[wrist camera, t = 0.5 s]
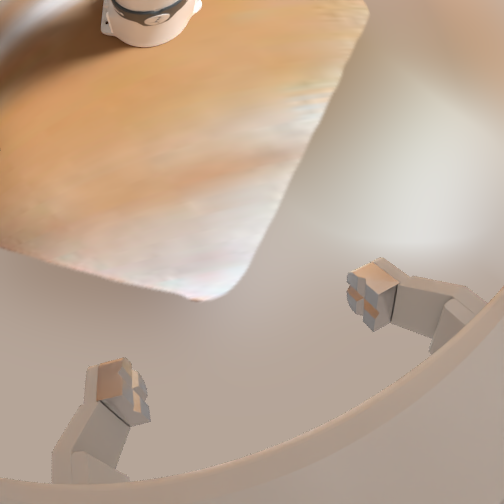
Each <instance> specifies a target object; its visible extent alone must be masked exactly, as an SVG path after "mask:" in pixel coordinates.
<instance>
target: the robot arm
mask: <svg viewBox="0 0 504 504" xmlns="http://www.w3.org/2000/svg"><path fill="white" fill-rule="evenodd" d="M201 8H202V2H201V0H104V3H103V11H102V21H101V32H102V33H103V34H105V35H110V36H115V37H117V38H119V39H120V40H122V41H123V42H125V43H127V44H129V45H132V46H136V47H152V46H157V45H160V44H163V43H166V42H168V41H170V40H171V39H173V38H175V37H176V36H177V35H178V34H180V33H181V32H182V30H183V29H184V28H185V27H186V25H187V23H188V21H189V19H190V18H191V17H192V16H193V15H194V14H195V13H197V12H198V11H199V10H200V9H201ZM107 22H108V23H109V24H106V23H107ZM347 283H348V284H350V286H349V288H348V290H347V300H348V303H349V306H350V307H351V309H352V310H353V311H354V312H355V313H356V314H358V315H362V316H363V322H364V323H365V324H366V325H367V326H368V327H369V328H370V329H371V330H372V331H373V332H375V331H376V330H378V329H380V328H382V327H384V326H385V325H387V324H389V323H392V324H394V325H397V326H400V327H402V328H405V329H408V330H410V331H413V332H416V333H418V334H421V335H424V336H427V337H429V338H432V342H431V344H430V347H429V352H430V353H431V354H432V355H431V356H430V357H428V358H427V359H426V360H424V361H423V362H422V363H420V364H419V365H418V366H417V367H415V368H414V369H412V370H411V371H410V372H408V373H407V374H406V375H404V376H403V377H401V378H400V379H398V380H397V381H396V382H394V383H393V384H391V385H390V386H388V387H387V388H385V389H383V390H382V391H380V392H379V393H377V394H376V395H374V396H372V397H371V398H369V399H368V400H366V401H364V402H363V403H361V404H359V405H357V406H356V407H354V408H352V409H350V410H349V411H347V412H345V413H343V414H341V415H340V416H338V417H336V418H334V419H332V420H330V421H328V422H326V423H324V424H322V425H320V426H318V427H316V428H314V429H312V430H310V431H307V432H305V433H303V434H301V435H299V436H296V437H294V438H292V439H289V440H287V441H285V442H282V443H280V444H277V445H275V446H272V447H270V448H267V449H264V450H262V451H259V452H256V453H253V454H250V455H248V456H244V457H241V458H239V459H235V460H232V461H229V462H225V463H222V464H219V465H215V466H211V467H208V468H204V469H200V470H195V471H191V472H187V473H182V474H177V475H172V476H166V477H161V478H155V479H148V480H140V481H132V482H130V479H129V477H128V476H127V475H126V474H124V473H122V472H119V471H118V470H116V466H117V463H118V461H119V458H120V455H121V452H122V450H123V447H124V444H125V441H126V438H127V436H128V433H129V431H130V427H132V426H136V425H140V424H144V423H148V422H150V421H151V420H150V412H149V406H148V405H147V404H146V403H145V402H144V401H145V400H146V398H147V388H146V385H145V382H144V380H143V378H142V376H141V375H140V374H139V372H138V371H135V370H133V369H132V364H131V362H130V361H129V360H128V359H127V358H120V359H116V360H113V361H109V362H105V363H101V364H98V365H94V366H90V367H88V369H87V371H86V381H85V393H84V404H83V405H80V406H79V408H78V410H77V411H76V413H75V414H74V416H73V418H72V419H71V421H70V422H69V424H68V426H67V428H66V429H65V431H64V432H63V434H62V436H61V438H60V439H59V441H58V442H57V444H56V446H55V448H54V449H53V451H52V484H49V483H38V482H28V481H21V480H14V479H8V478H3V477H0V504H504V286H503V287H502V288H501V290H500V291H499V292H498V293H497V294H496V295H495V296H494V297H493V299H491V300H490V302H489V303H487V302H486V301H484V300H483V299H482V298H481V297H479V296H478V295H477V294H475V293H474V292H473V291H471V290H470V289H469V288H467V287H466V286H462V285H457V284H452V283H447V282H442V281H437V280H432V279H427V278H422V277H417V276H412V277H409V276H408V275H407V274H405V273H404V272H402V271H401V270H400V269H398V268H397V267H396V266H394V265H393V264H391V263H390V262H389V261H387V260H386V259H384V258H381V257H380V258H378V259H376V260H374V261H372V262H370V263H368V264H366V265H364V266H362V267H359V268H357V269H355V270H353V271H351V272H349V273H348V275H347Z"/></svg>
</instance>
